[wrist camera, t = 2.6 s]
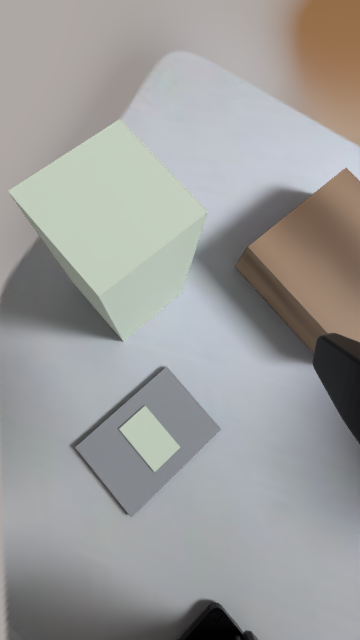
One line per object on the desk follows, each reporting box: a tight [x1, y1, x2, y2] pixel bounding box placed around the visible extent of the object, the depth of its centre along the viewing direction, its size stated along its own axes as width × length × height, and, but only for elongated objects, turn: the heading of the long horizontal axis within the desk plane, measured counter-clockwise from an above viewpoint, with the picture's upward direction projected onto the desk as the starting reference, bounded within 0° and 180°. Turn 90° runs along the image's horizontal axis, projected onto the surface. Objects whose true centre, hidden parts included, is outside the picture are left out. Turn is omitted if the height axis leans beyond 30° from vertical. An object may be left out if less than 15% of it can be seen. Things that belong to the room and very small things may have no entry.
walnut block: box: [235, 168, 360, 353], centre depth 21 cm, size 9×9×4 cm
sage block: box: [8, 119, 208, 342], centre depth 16 cm, size 5×5×10 cm
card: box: [75, 367, 221, 517], centre depth 19 cm, size 7×5×1 cm
